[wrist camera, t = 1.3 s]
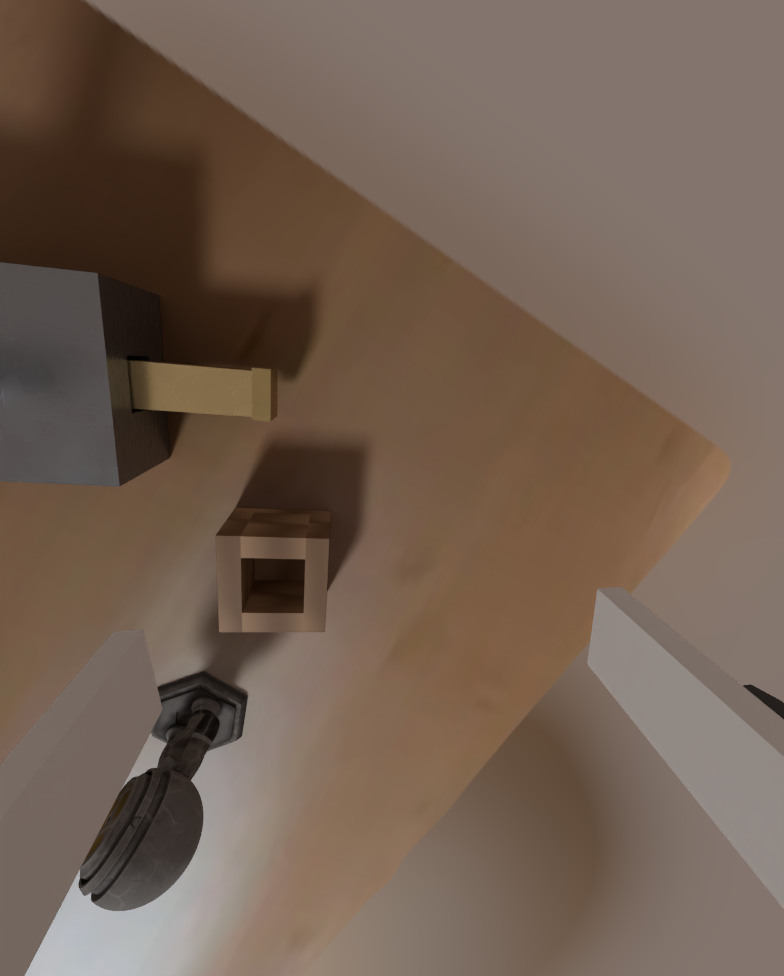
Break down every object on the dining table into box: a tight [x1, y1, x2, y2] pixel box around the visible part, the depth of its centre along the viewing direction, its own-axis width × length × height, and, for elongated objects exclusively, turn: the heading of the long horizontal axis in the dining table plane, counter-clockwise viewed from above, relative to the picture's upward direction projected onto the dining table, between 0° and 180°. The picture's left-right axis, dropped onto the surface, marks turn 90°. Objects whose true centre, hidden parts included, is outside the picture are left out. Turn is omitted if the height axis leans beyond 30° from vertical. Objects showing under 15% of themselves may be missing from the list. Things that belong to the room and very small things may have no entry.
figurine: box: [79, 672, 248, 911], centre depth 33 cm, size 9×10×15 cm
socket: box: [0, 262, 170, 486], centre depth 27 cm, size 12×13×8 cm
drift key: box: [127, 360, 278, 422], centre depth 28 cm, size 3×9×3 cm, turn 85°
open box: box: [216, 507, 331, 632], centre depth 34 cm, size 8×8×6 cm
